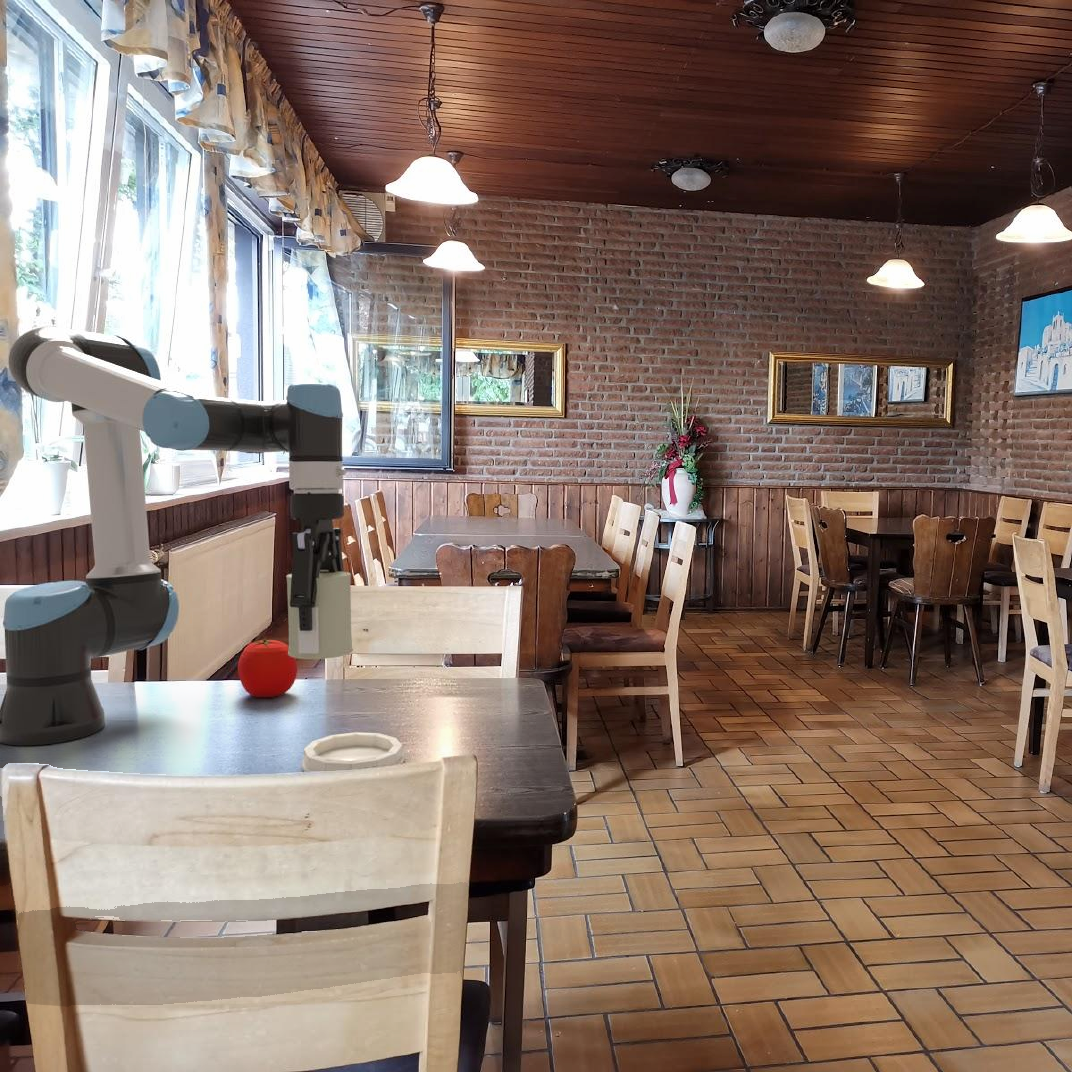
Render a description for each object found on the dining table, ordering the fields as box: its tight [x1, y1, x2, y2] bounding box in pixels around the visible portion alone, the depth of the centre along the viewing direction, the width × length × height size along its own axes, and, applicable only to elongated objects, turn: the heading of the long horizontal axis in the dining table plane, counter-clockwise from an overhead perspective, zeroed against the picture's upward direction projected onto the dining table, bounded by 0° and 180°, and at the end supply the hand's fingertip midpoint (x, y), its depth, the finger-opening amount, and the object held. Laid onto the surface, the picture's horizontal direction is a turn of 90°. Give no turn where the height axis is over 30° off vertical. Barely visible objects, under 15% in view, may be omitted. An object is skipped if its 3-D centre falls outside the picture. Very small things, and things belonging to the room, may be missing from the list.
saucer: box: [301, 731, 405, 771], centre depth 121 cm, size 14×14×2 cm
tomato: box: [237, 638, 298, 698], centre depth 155 cm, size 10×11×11 cm
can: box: [285, 570, 354, 660], centre depth 122 cm, size 9×9×12 cm
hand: (320, 646), depth 122 cm, fingers closed on can, 9 cm apart
